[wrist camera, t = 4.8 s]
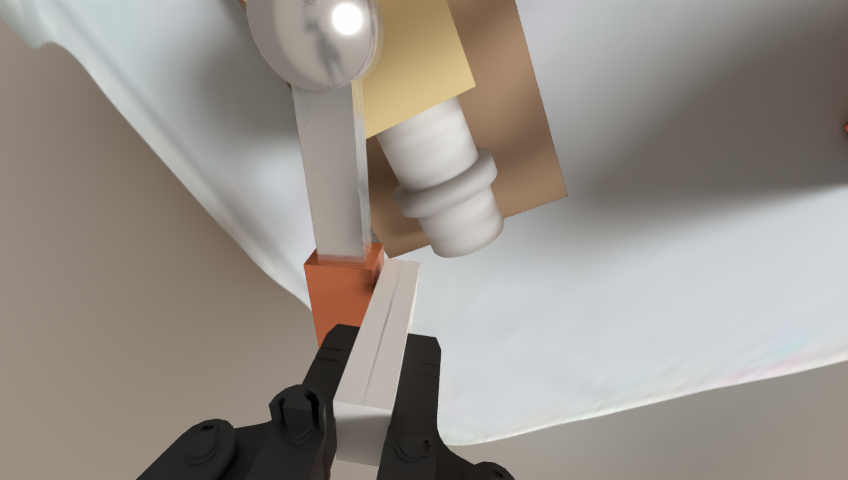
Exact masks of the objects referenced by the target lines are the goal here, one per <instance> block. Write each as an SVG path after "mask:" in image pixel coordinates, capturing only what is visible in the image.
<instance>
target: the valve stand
mask: <svg viewBox="0 0 848 480" xmlns="http://www.w3.org/2000/svg"><path fill="white" fill-rule="evenodd" d="M239 2H240V3H241V5H242V7H243V9H244V10H245V12H246V0H239ZM378 2H379V4H380V7H381V10H382V13H383V18H384V23H385V42H384V48H383V52H382V55H381V58H380V60H379V62H378V64H377V66H376V67H375V69H374V70H373V72H372V73H371V74H370V75H369V76H368V77H367V78H365V79H364V80H363V81H362V86H363V103H364V120H365V137H366V154H367V171H368V189H369V206H370V223H371V228H372V230H373V232H374V233H375V235H376V237H377V239H378V240H379V242H380V243H383V244H384V251H385V252H386V254H387V256H388V257H389V258H393V257H396V256H399V255H402V254H405V253H408V252H410V251H413V250H416V249H419V248H422V247H425V246H427V245H431V247H432V249H433V251H434V252H435V254H437V255H438V256H441V257H447V258H451V257H459V256H464V255H467V254H470V253H473V252H475V251H477V250H480V249H481V248H483V247H485V246H487V245H488V244H490V243H491V242H492V241H493V240H495V239H496V238H497V237H498V236H499V234H500V233H501V232H502V230H503V227H504V221H503V219H504V218H506V217H509V216H512V215H515V214H518V213H521V212H523V211H526V210H529V209H532V208H535V207H538V206H540V205H543V204H546V203H549V202H552V201H555V200H557V199H560V198H563V197H566V196H567V193H566V189H565V185H564V182H563V178H562V174H561V170H560V167H559V163H558V159H557V155H556V152H555V148H554V144H553V141H552V137H551V133H550V129H549V126H548V122H547V118H546V114H545V111H544V107H543V103H542V100H541V96H540V92H539V88H538V85H537V81H536V77H535V74H534V70H533V66H532V62H531V59H530V55H529V51H528V47H527V44H526V40H525V36H524V33H523V29H522V25H521V21H520V18H519V14H518V10H517V6H516V3H515V0H378ZM286 82H287V81H286ZM287 84H288V86H289V88H290V89H291V84H290V83H288V82H287ZM291 91H292V89H291Z"/></svg>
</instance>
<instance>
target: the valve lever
mask: <svg viewBox="0 0 848 480" xmlns="http://www.w3.org/2000/svg"><path fill="white" fill-rule="evenodd" d="M246 14H247V20H248V25H249V29H250V32H251V35H252V38H253V40H254V42H255V45H256V47H257V49H258V50H259V52H260V54H261V56H262V57H263V59H264V60H265V61H266V63H267V64H268V65H269V66H270V67H271V69H272V70H273V71H274V72H275V73H276V74H278V75H279V76H280V77H281V78H282V79H284V80H285V81H287V82H288V83H290V84H291V89H292V96H293V102H294V108H295V115H296V121H297V127H298V134H299V140H300V147H301V153H302V159H303V166H304V172H305V179H306V185H307V191H308V198H309V204H310V211H311V217H312V223H313V230H314V236H315V242H316V249H315V250H314V252H313V253H312V254H311V256H310V257H309V258H308V260H307V261H306V262H305V263H304V269H305V275H306V280H307V286H308V291H309V296H310V302H311V307H312V313H313V318H314V324H315V329H316V334H317V340H318V345H319V349H320V346H321V344H322V342H323V340H324V338H325V336H326V334H327V333H328V332H329V331H330V330H331V329H332V328H333V327H334V326H336V325H337V324H344V325H351V326H358V327H361V325H362V322H363V319H364V317H365V314H366V311H367V308H368V306H369V303H370V300H371V298H372V295H373V292H374V290H375V287H376V284H377V282H378V279H379V276H380V274H381V271H382V268H383V266H384V244H383V243H375V242H372V240H371V223H370V206H369V189H368V171H367V154H366V137H365V120H364V103H363V86H362V81H363V80H364V79H365V78H367V77H368V76H369V75H370V74H371V73H372V72H373V70H374V69H375V67H376V66H377V64H378V62H379V60H380V58H381V55H382V52H383V48H384V42H385V23H384V18H383V13H382V10H381V7H380V4H379V2H378V0H246Z"/></svg>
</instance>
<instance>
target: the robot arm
mask: <svg viewBox="0 0 848 480" xmlns="http://www.w3.org/2000/svg"><path fill="white" fill-rule="evenodd" d="M419 270H420V263H419V262H412V261H405V260H398V259H391V258H386V260H385V263H384V266H383V268H382V271H381V274H380V276H379V279H378V282H377V284H376V287H375V290H374V292H373V295H372V298H371V300H370V303H369V306H368V308H367V311H366V314H365V317H364V319H363V322H362V325H361V327H358V326H351V325H344V324H337V325H336V326H334V327H333V328H332V329H331V330H330V331H329V332H328V333H327V334H326V336H325V338H324V340H323V342H322V344H321V346H320V349H319V350H318V352H317V354H316V356H315V360H313V362H312V365H311V367H310V369H309V371H308V373H307V375H306V377H305V379H304V381H303V383H302V384H301V385H294V386H291V387H288V388H286V389H284V390H283V391H281V392H280V393H279V394H277V395H276V396H275V397H274V398H273V400H272V401H271V402H270V404H269V408H270V412H271V417H272V420H271V421H269V422H266V423H262V424H258V425H252V426H246V427H240V428H235V429H234V428H233V426H232V425H231V424H230V423H229V422H228V421H226V420H221V419H212V420H206V421H203V422H201V423H199V424H197V425H194V426H192V427H191V428H190V429H189V430H187V431H186V432H185V433H183V434H182V435H181V436H180V437H179V438H178V439H177V440H176V441H175V442H174V443H173V444H172V445H171V446H170V447H169V448H168V449H167V450H166V451H165V452H164V453H163V454H162V455H161V456H160V457H159V458H158V459H157V460H156V461H155V462H153V464H151V465H150V466H149V467H148V468H147V469H146V470H145V471H144V472H143V473H142V475H140V476H139V477H138V478H137V479H136V480H330V475H331V474H330V469H331V465H332V462H333V459H334V456H335V453H336V459H337V460H343V461H349V462H355V463H361V464H367V465H374V466H379V470H378V475H377V480H515V479H514V478H513V476H511V474H510V473H509V472H508V471H507V470H506V469H505V468H503V467H502V466H500V465H498V464H496V463H493V462H481V463H478V464H475V465H474V464H472V463H470V462H468V461H466V460H465V459H463V458H461V457H459V456H457V455H456V454H455V453H453V452H452V451H450V450H449V449H448V448H447V446H446V445H445V444H444V443H443V441H442V439H441V438H440V436H439V432H438V429H437V410H438V394H439V376H440V362H441V348H440V346H439V343H438V341H437V339H436V337H430V336H423V335H417V334H410V333H411V328H412V322H413V317H414V311H415V303H416V294H417V286H418V278H419Z"/></svg>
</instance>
